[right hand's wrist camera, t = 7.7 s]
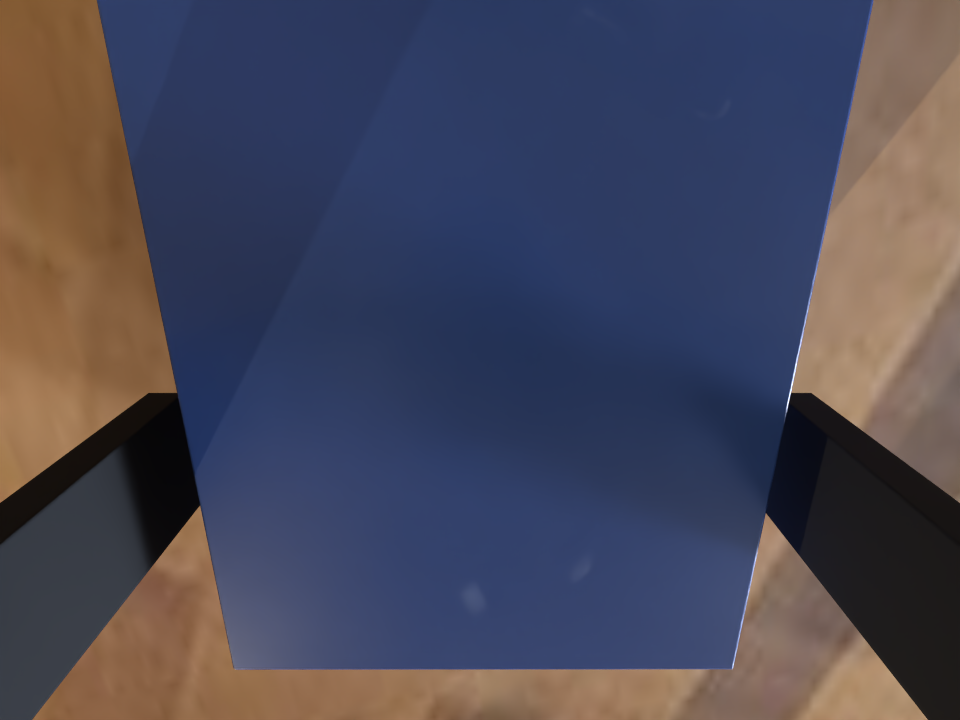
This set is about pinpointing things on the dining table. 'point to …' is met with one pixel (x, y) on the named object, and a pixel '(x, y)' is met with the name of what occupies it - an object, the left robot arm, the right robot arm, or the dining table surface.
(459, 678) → the dining table surface
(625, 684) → the dining table surface
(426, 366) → the cabinet
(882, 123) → the dining table surface
